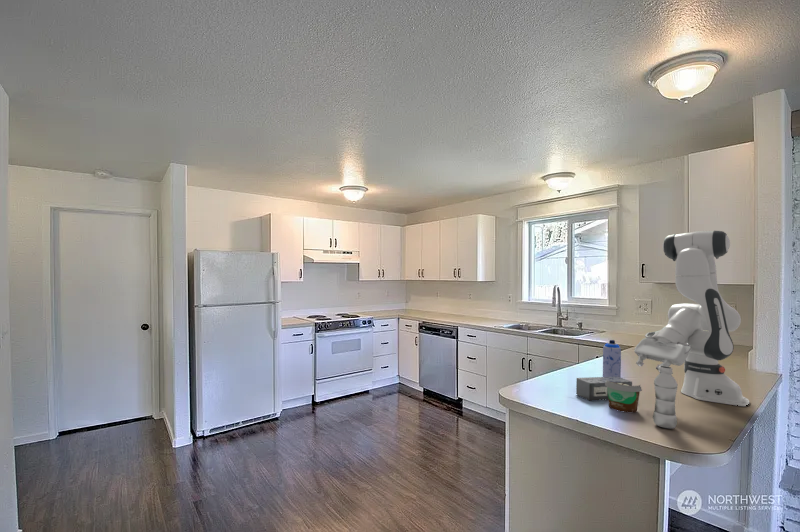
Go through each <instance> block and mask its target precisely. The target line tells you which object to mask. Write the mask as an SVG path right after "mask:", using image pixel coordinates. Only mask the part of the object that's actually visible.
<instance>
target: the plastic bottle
mask: <svg viewBox="0 0 800 532" xmlns="http://www.w3.org/2000/svg"><path fill="white" fill-rule="evenodd" d="M658 373H659V374H658V375H657V376H656V377H655V378H654V380H653V386H654V393H655V403H654V410H653V414H652V421H653V423H654V424H655V426H658V427H660V428H663V429H670V430H672V429H675V428H676V426H677V423H678V417H677V414H676V397H677V392H678V391H677V390H678V382H677V381H676V379H675V377H674V376H673V374H674V372H673V367H671V366H669V367H667V366H659V371H658Z"/></svg>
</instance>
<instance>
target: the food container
mask: <svg viewBox="0 0 800 532" xmlns="http://www.w3.org/2000/svg"><path fill="white" fill-rule="evenodd" d="M605 385H606V386H607V390H608V400H607V401H608V407H609V408H610V409H612V410H614V411H617V410H618V412H621V411H624V412H623V413H628V412H633V413H636V411H637V412H638V407H639V400H640V392H642V390H643V389H642V386H641V384H639V385H632V386H631V385H628V384H625V383H615V382H609V381H608V380H606V383H605Z"/></svg>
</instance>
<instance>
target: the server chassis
mask: <svg viewBox="0 0 800 532" xmlns="http://www.w3.org/2000/svg"><path fill="white" fill-rule="evenodd" d="M606 380H608V381H609V382H615V383H625V384H628V385H631V386H633V381H632V380H629V379H626V378H623V377H621V378H620V377H618V376H617V377H603V376H597V377H596V376H595V377H594V376H593V377H591V376H589V377H576V381H575V382H576V386H575V387H576V388H575V389H576V391H575V392H576V394H577V395H576V394H575V395H576V396H578V395H579V396H578V397H580V396H581V398H582V397H583V399H584V398H585V399H584V400H586V399H587V400H586V401H588V400H589V402H592V400H597V401H608V390H607V386H606V385H605V383H606Z"/></svg>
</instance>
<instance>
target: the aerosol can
mask: <svg viewBox="0 0 800 532" xmlns="http://www.w3.org/2000/svg"><path fill="white" fill-rule="evenodd" d="M602 348H603V349H602V377H617V376H618V377H620V378H622V377H621V375H622V374H621V372H622V371H621V368H622V367H621V366H622V365H621V364H622V349H621V348H622V347H621V346H620V345H619V344H617V343H616V341H615V340H614V339H610V340H609V342H606V343H605V344H604V345H603V347H602Z"/></svg>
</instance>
